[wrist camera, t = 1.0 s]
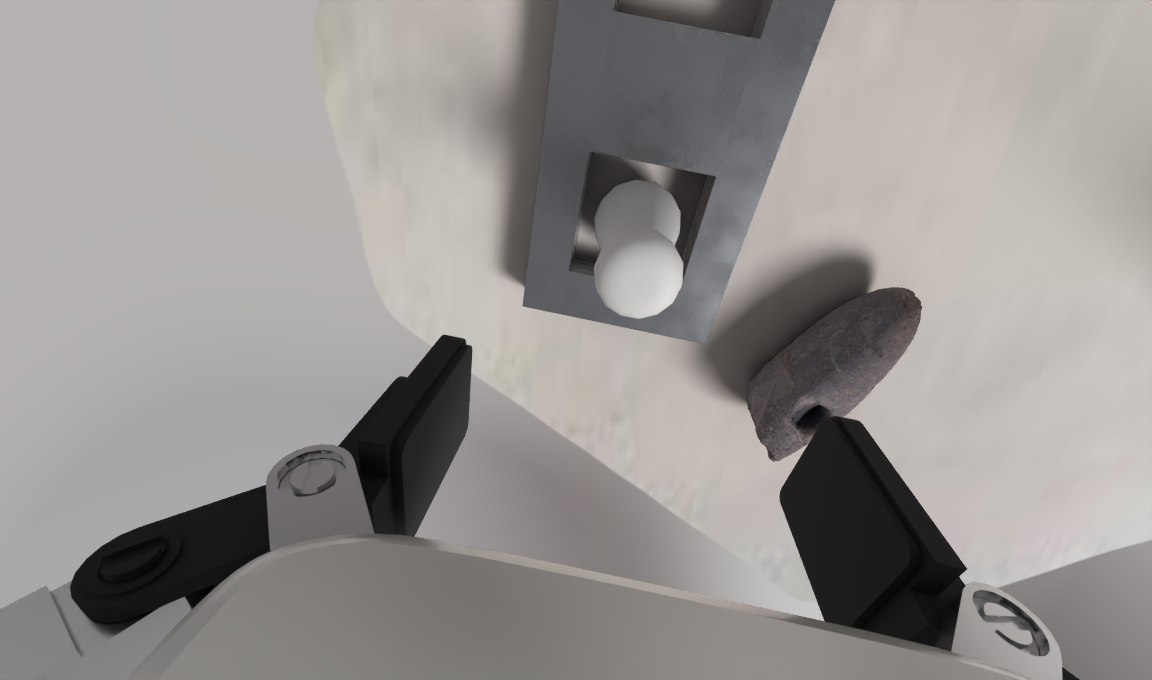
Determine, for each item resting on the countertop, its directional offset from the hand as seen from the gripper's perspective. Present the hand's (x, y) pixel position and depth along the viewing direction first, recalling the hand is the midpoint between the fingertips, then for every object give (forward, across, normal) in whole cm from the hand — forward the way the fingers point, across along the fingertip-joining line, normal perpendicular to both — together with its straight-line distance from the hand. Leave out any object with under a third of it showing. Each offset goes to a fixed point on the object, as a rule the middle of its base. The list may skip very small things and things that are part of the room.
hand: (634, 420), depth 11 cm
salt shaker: (+23, 0, 0) cm, 23 cm away
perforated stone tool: (+23, -16, +7) cm, 29 cm away
